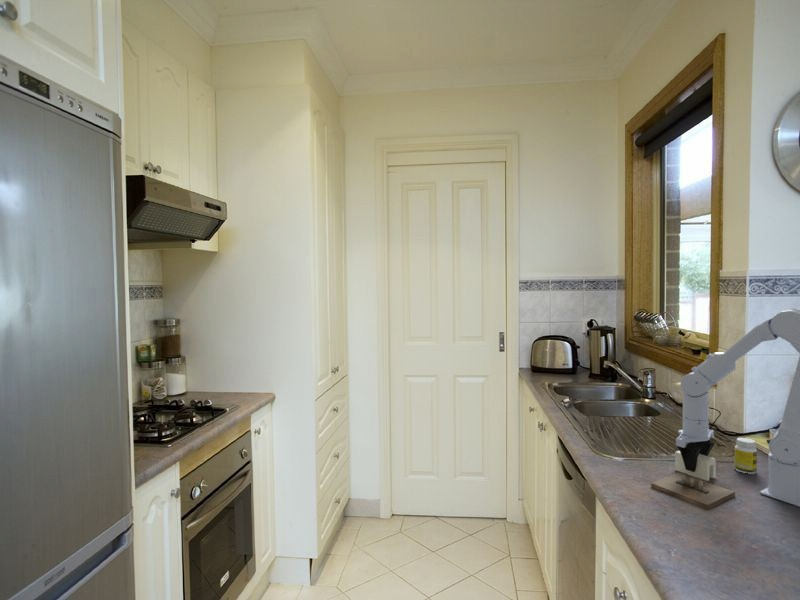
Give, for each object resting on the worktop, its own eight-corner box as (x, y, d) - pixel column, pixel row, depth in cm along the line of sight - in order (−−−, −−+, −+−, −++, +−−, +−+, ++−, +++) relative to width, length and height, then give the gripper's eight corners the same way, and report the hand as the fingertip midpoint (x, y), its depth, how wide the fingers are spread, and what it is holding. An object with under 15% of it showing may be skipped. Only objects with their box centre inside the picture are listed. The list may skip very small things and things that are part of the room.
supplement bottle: (756, 476, 117) (757, 444, 117) (734, 471, 120) (734, 440, 120) (756, 469, 121) (756, 439, 121) (734, 465, 124) (734, 435, 124)
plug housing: (715, 477, 117) (715, 458, 117) (707, 481, 115) (707, 461, 115) (683, 466, 124) (683, 448, 124) (675, 470, 122) (675, 451, 122)
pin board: (734, 495, 107) (734, 482, 107) (707, 509, 101) (707, 495, 101) (678, 475, 118) (678, 463, 118) (651, 486, 112) (651, 474, 112)
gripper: (694, 409, 126) (694, 457, 126) (664, 418, 119) (663, 469, 119) (722, 416, 120) (722, 466, 120) (692, 425, 113) (692, 479, 113)
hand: (695, 468), depth 119 cm, fingers closed on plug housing, 4 cm apart
